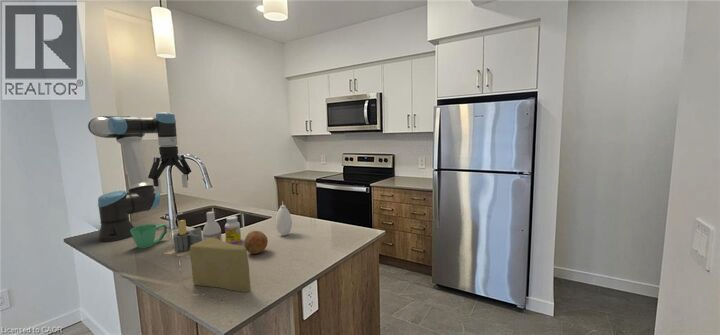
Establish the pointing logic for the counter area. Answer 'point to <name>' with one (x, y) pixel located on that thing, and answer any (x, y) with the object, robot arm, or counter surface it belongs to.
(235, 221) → the supplement bottle
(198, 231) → the grey piece
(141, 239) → the mug
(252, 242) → the onion
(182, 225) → the hinge pin
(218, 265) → the cheese
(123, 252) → the counter surface
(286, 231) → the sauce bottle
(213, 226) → the bath foam
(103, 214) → the robot arm
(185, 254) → the mounting board
